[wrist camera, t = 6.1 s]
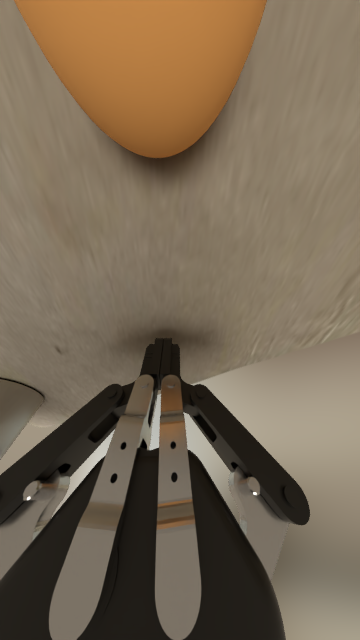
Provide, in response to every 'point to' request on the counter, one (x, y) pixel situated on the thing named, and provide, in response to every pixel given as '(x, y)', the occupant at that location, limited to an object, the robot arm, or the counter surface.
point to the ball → (147, 63)
